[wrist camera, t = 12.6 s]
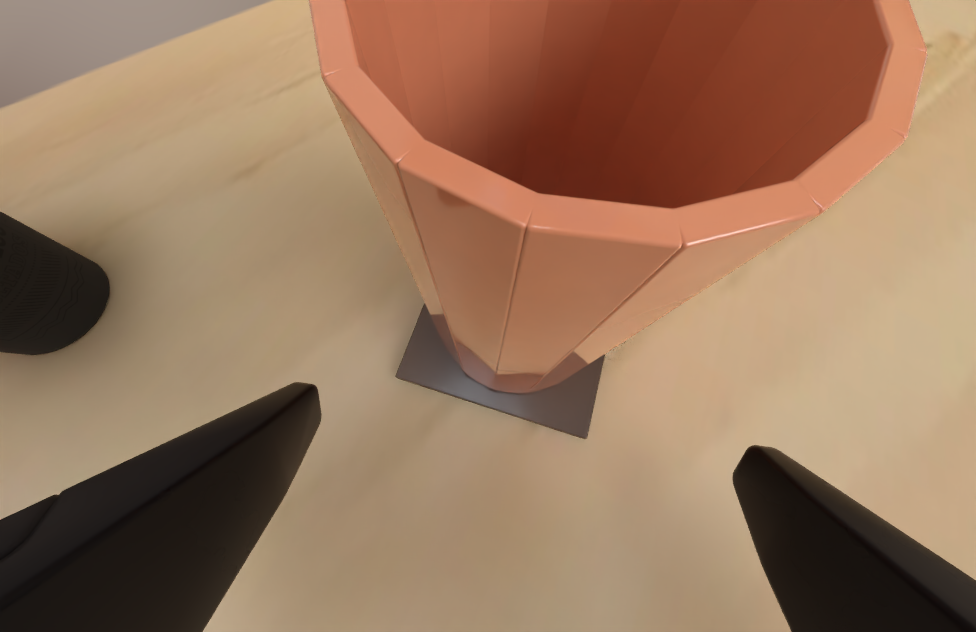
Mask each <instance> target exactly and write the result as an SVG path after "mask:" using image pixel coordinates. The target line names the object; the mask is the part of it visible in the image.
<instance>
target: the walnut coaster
mask: <svg viewBox="0 0 976 632" xmlns="http://www.w3.org/2000/svg"><path fill="white" fill-rule="evenodd" d="M604 356H605V354H604V355H602V356H601V357H599V358H598V359H596V360H594V361H593V362H591V363H590V364H588V365H587V366H585V367H584V368H582V369H580V370H579V371H577V372H576V373H574V374H573V375H571V376H570V377H568V378H567V379H565V380H563V381H562V382H560V383H559V384H557V385H554V386H550V387H548V388H545V389H542V390H540V391H535V392H530V393H507V392H502V391H497V390H494V389H492V388H489V387H486V386H484V385H482V384H480V383H478V382H477V381H475V380H474V379H472V378H471V377H470V376H468V375H467V374H466V373H465V372H463V370H462V369H461V368H460V367H459V366H458V365H457V363H456V362H455V361H454V359H453V358H452V356H451V355H450V353H449V352H448V350H447V349H446V348H445V346H444V343H443V341H442V339H441V337H440V335H439V333H438V330H437V328H436V326H435V324H434V322H433V319H432V317H431V315H430V313H429V311H428V308H427V306H426V304H425V303H424V306H423V308H422V311H421V313H420V316H419V318H418V321H417V323H416V326H415V328H414V331H413V333H412V336H411V338H410V341H409V343H408V346H407V348H406V351H405V353H404V356H403V358H402V361H401V363H400V366H399V369H398V371H397V374H396V377H397V378H398V379H401V380H405V381H408V382H411V383H414V384H417V385H420V386H423V387H426V388H429V389H432V390H435V391H438V392H441V393H444V394H448V395H451V396H454V397H457V398H460V399H463V400H466V401H469V402H472V403H475V404H478V405H481V406H484V407H487V408H491V409H494V410H497V411H500V412H503V413H506V414H509V415H512V416H515V417H518V418H521V419H524V420H527V421H530V422H534V423H537V424H540V425H543V426H546V427H549V428H552V429H555V430H558V431H561V432H564V433H567V434H570V435H573V436H577V437H580V438H583V439H587V436H588V431H589V426H590V422H591V417H592V412H593V408H594V403H595V398H596V393H597V389H598V384H599V379H600V375H601V370H602V365H603V361H604Z"/></svg>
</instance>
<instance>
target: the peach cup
mask: <svg viewBox="0 0 976 632" xmlns="http://www.w3.org/2000/svg"><path fill="white" fill-rule="evenodd" d="M309 6H310V12H311V18H312V24H313V29H314V35H315V41H316V47H317V53H318V59H319V65H320V70H321V76H322V79H323V81H324V83H325V86H326V88H327V90H328V92H329V94H330V97H331V99H332V101H333V103H334V105H335V107H336V110H337V112H338V114H339V116H340V118H341V121H342V123H343V125H344V127H345V129H346V131H347V134H348V136H349V138H350V140H351V142H352V145H353V147H354V149H355V151H356V153H357V156H358V158H359V160H360V162H361V164H362V166H363V169H364V171H365V173H366V175H367V177H368V180H369V182H370V184H371V186H372V188H373V190H374V193H375V195H376V197H377V199H378V201H379V204H380V206H381V208H382V210H383V212H384V215H385V217H386V219H387V221H388V223H389V225H390V228H391V230H392V232H393V234H394V236H395V239H396V241H397V243H398V245H399V247H400V249H401V252H402V254H403V256H404V258H405V260H406V263H407V265H408V267H409V269H410V271H411V274H412V276H413V278H414V280H415V282H416V284H417V287H418V289H419V291H420V293H421V295H422V298H423V300H424V302H425V304H426V306H427V308H428V311H429V313H430V315H431V317H432V319H433V322H434V324H435V326H436V328H437V330H438V333H439V335H440V337H441V339H442V341H443V343H444V346H445V348H446V349H447V350H448V352H449V353H450V355H451V356H452V358H453V359H454V361H455V362H456V363H457V365H458V366H459V367H460V368H461V369H462V370H463V372H465V373H466V374H467V375H468V376H470V377H471V378H472V379H474V380H475V381H477V382H478V383H480V384H482V385H484V386H486V387H489V388H492V389H494V390H497V391H502V392H507V393H530V392H535V391H540V390H542V389H545V388H548V387H550V386H554V385H557V384H559V383H560V382H562V381H563V380H565V379H567V378H568V377H570V376H571V375H573V374H574V373H576V372H577V371H579V370H580V369H582V368H584V367H585V366H587V365H588V364H590V363H591V362H593V361H594V360H596V359H598V358H599V357H601V356H602V355H604V354H605V353H607V352H608V351H610V350H612V349H613V348H615V347H616V346H618V345H619V344H621V343H622V342H624V341H625V340H627V339H629V338H630V337H632V336H633V335H635V334H636V333H638V332H639V331H641V330H643V329H644V328H646V327H647V326H649V325H650V324H652V323H653V322H655V321H656V320H658V319H660V318H661V317H663V316H664V315H666V314H667V313H669V312H670V311H672V310H674V309H675V308H677V307H678V306H680V305H681V304H683V303H684V302H686V301H687V300H689V299H691V298H692V297H694V296H695V295H697V294H698V293H700V292H701V291H703V290H705V289H706V288H708V287H709V286H711V285H712V284H714V283H715V282H717V281H719V280H720V279H722V278H723V277H725V276H726V275H728V274H729V273H731V272H732V271H734V270H736V269H737V268H739V267H740V266H742V265H743V264H745V263H746V262H748V261H750V260H751V259H753V258H754V257H756V256H757V255H759V254H760V253H762V252H763V251H765V250H767V249H768V248H770V247H771V246H773V245H774V244H776V243H777V242H779V241H781V240H782V239H784V238H785V237H787V236H788V235H790V234H791V233H793V232H794V231H796V230H798V229H799V228H801V227H802V226H804V225H805V224H807V223H808V222H810V221H812V220H813V219H815V218H816V217H818V216H819V215H821V214H822V213H824V212H825V211H826V210H827V209H829V208H830V207H831V206H832V205H833V204H834V203H836V202H837V201H838V200H839V199H840V198H841V197H842V196H844V195H845V194H846V193H847V192H848V191H849V190H851V189H852V188H853V187H854V186H855V185H856V184H857V183H859V182H860V181H861V180H862V179H863V178H864V177H865V176H867V175H868V174H869V173H870V172H871V171H872V170H874V169H875V168H876V167H877V166H878V165H879V164H880V163H882V162H883V161H884V160H885V159H886V158H887V157H889V156H890V155H891V154H892V153H893V152H894V151H895V150H897V149H898V148H899V147H900V146H901V145H902V144H903V143H904V141H905V139H906V138H907V136H908V134H909V130H910V126H911V122H912V118H913V114H914V109H915V105H916V101H917V97H918V93H919V89H920V85H921V80H922V76H923V72H924V68H925V64H926V60H927V56H928V55H927V53H926V52H927V47H926V45H925V42H924V39H923V37H922V34H921V31H920V29H919V26H918V23H917V21H916V18H915V15H914V13H913V10H912V7H911V5H910V2H909V0H309Z"/></svg>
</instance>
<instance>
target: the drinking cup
mask: <svg viewBox="0 0 976 632" xmlns="http://www.w3.org/2000/svg"><path fill="white" fill-rule="evenodd" d="M108 296H109V283H108V279H107V276H106V274H105V272H104V271H103V270H102V268H101V267H100V266H99V265H97V264H96V263H95V262H93V261H91V260H89V259H87V258H86V257H84V256H82V255H80V254H78V253H76V252H74V251H73V250H71V249H69V248H67V247H65V246H63V245H61V244H60V243H58V242H56V241H54V240H52V239H50V238H49V237H47V236H45V235H43V234H41V233H39V232H37V231H36V230H34V229H32V228H30V227H28V226H26V225H24V224H23V223H21V222H19V221H17V220H15V219H13V218H11V217H10V216H8V215H6V214H4V213H2V212H0V352H5V353H15V354H26V355H38V354H44V353H49V352H53V351H56V350H59V349H61V348H63V347H65V346H67V345H69V344H71V343H73V342H74V341H76V340H77V339H79V338H80V337H82V336H83V335H84V334H85V333H86V332H87V331H88V330H89V329H90V328H91V327H92V326H93V325H94V324H95V323H96V321H97V320H98V319H99V317H100V316H101V314H102V312H103V310H104V308H105V306H106V303H107V300H108Z"/></svg>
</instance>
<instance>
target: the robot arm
mask: <svg viewBox="0 0 976 632" xmlns="http://www.w3.org/2000/svg"><path fill="white" fill-rule="evenodd" d="M320 421H321V408H320V401H319V394H318V389H317V387H316V386H315V385H313V384H308V383H301V382H295V383H292V384H290V385H288V386H286V387H284V388H281V389H279V390H277V391H275V392H273V393H271V394H269V395H267V396H264V397H262V398H260V399H258V400H256V401H254V402H252V403H249V404H247V405H245V406H243V407H241V408H239V409H237V410H234V411H232V412H230V413H228V414H226V415H224V416H222V417H220V418H217V419H215V420H213V421H211V422H209V423H207V424H205V425H202V426H200V427H198V428H196V429H194V430H192V431H190V432H187V433H185V434H183V435H181V436H179V437H177V438H175V439H172V440H170V441H168V442H166V443H164V444H162V445H160V446H158V447H155V448H153V449H151V450H149V451H147V452H145V453H143V454H140V455H138V456H136V457H134V458H132V459H130V460H128V461H125V462H123V463H121V464H119V465H117V466H115V467H113V468H110V469H108V470H106V471H104V472H102V473H100V474H98V475H95V476H93V477H91V478H89V479H87V480H85V481H83V482H80V483H78V484H76V485H74V486H72V487H70V488H68V489H66V490H64V491H62V492H61V493H60V494H59V495H52V496H50V497H48V498H46V499H44V500H42V501H40V502H38V503H35V504H33V505H31V506H29V507H27V508H25V509H23V510H20V511H18V512H16V513H14V514H12V515H10V516H7V517H5V518H3V519H1V520H0V632H203V630H204V628H205V627H206V625H207V624H208V622H209V620H210V619H211V617H212V615H213V614H214V612H215V610H216V609H217V607H218V605H219V604H220V602H221V601H222V599H223V597H224V596H225V594H226V592H227V591H228V589H229V587H230V586H231V584H232V582H233V581H234V579H235V577H236V576H237V574H238V573H239V571H240V569H241V568H242V566H243V564H244V563H245V561H246V559H247V558H248V556H249V554H250V553H251V551H252V550H253V548H254V546H255V545H256V543H257V541H258V540H259V538H260V536H261V535H262V533H263V531H264V530H265V528H266V527H267V525H268V523H269V522H270V520H271V518H272V517H273V515H274V513H275V512H276V510H277V508H278V507H279V505H280V503H281V502H282V500H283V498H284V496H285V495H286V493H287V491H288V489H289V487H290V485H291V483H292V481H293V479H294V477H295V475H296V473H297V471H298V469H299V466H300V464H301V462H302V460H303V458H304V456H305V454H306V452H307V450H308V448H309V446H310V444H311V441H312V439H313V437H314V435H315V433H316V431H317V429H318V427H319V424H320ZM733 485H734V488H735V491H736V494H737V496H738V499H739V502H740V505H741V508H742V511H743V514H744V516H745V519H746V522H747V525H748V528H749V531H750V534H751V536H752V539H753V542H754V545H755V548H756V551H757V553H758V556H759V559H760V561H761V564H762V566H763V569H764V571H765V574H766V576H767V578H768V581H769V583H770V585H771V587H772V589H773V592H774V594H775V596H776V598H777V600H778V603H779V605H780V607H781V609H782V612H783V614H784V616H785V618H786V620H787V623H788V625H789V627H790V629H791V632H976V580H974V579H973V578H971V577H970V576H968V575H967V574H965V573H964V572H962V571H961V570H959V569H958V568H956V567H955V566H953V565H952V564H950V563H949V562H947V561H946V560H944V559H943V558H941V557H939V556H938V555H936V554H935V553H933V552H932V551H930V550H929V549H927V548H926V547H924V546H923V545H921V544H920V543H918V542H917V541H915V540H914V539H912V538H911V537H909V536H908V535H906V534H905V533H903V532H902V531H900V530H899V529H897V528H896V527H894V526H893V525H891V524H890V523H888V522H887V521H885V520H883V519H882V518H880V517H879V516H877V515H876V514H874V513H873V512H871V511H870V510H868V509H867V508H865V507H864V506H862V505H861V504H859V503H858V502H856V501H855V500H853V499H852V498H850V497H849V496H847V495H846V494H844V493H843V492H841V491H840V490H838V489H837V488H835V487H834V486H832V485H830V484H829V483H827V482H826V481H824V480H823V479H821V478H820V477H818V476H817V475H815V474H814V473H812V472H811V471H809V470H808V469H806V468H805V467H803V466H802V465H800V464H799V463H797V462H796V461H794V460H793V459H791V458H790V457H788V456H787V455H785V454H784V453H782V452H781V451H779V450H777V449H775V448H772V447H765V446H758V445H753V446H751V447H749V448H748V449H747V450H746V452H745V453H744V455H743V457H742V458H741V460H740V462H739V464H738V465H737V467H736V469H735V470H734V472H733Z"/></svg>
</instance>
